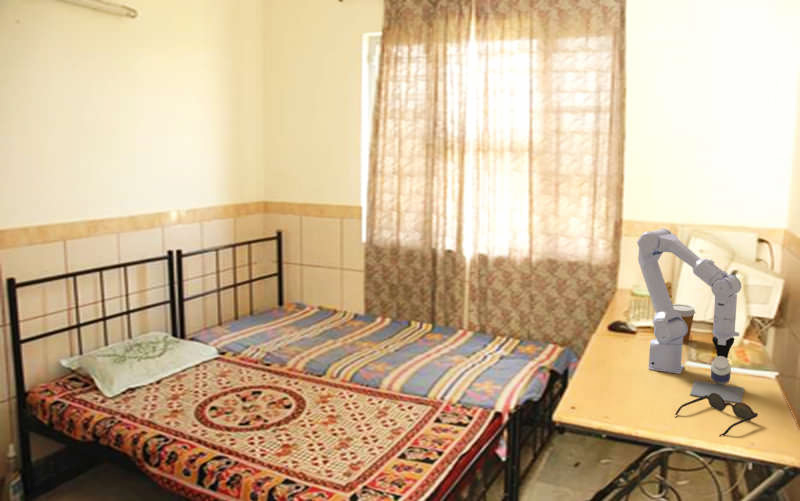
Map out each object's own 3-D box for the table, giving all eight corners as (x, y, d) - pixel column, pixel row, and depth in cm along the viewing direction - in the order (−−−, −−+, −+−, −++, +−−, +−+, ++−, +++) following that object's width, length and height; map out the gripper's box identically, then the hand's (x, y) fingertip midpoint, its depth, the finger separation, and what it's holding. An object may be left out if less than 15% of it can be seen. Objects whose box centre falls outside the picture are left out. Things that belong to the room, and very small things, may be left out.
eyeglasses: (757, 425, 170) (758, 406, 169) (721, 439, 162) (723, 420, 161) (705, 405, 182) (706, 388, 181) (670, 418, 174) (671, 400, 173)
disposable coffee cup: (697, 344, 232) (700, 310, 230) (670, 344, 232) (672, 311, 230) (686, 335, 241) (688, 303, 239) (660, 336, 242) (662, 304, 239)
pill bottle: (732, 384, 194) (733, 369, 188) (712, 385, 196) (713, 371, 189) (727, 368, 197) (728, 353, 191) (708, 370, 199) (709, 354, 193)
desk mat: (690, 395, 188) (690, 394, 188) (694, 381, 198) (695, 380, 198) (741, 404, 181) (741, 402, 181) (743, 389, 192) (743, 387, 192)
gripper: (738, 325, 184) (735, 371, 187) (741, 312, 197) (738, 356, 199) (710, 322, 188) (708, 368, 190) (715, 310, 200) (712, 353, 203)
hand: (722, 361), depth 195 cm, fingers closed
